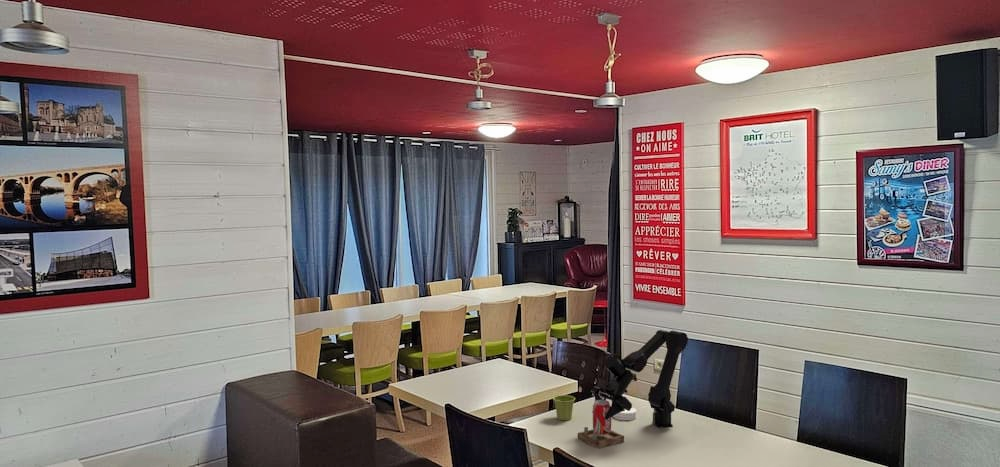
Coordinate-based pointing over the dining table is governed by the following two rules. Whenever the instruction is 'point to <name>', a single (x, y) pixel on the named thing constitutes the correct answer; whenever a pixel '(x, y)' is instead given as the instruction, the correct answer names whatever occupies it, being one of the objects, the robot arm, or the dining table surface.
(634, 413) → the coaster
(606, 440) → the caddy
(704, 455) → the dining table surface
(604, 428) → the soda can
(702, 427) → the dining table surface
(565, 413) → the plant pot
